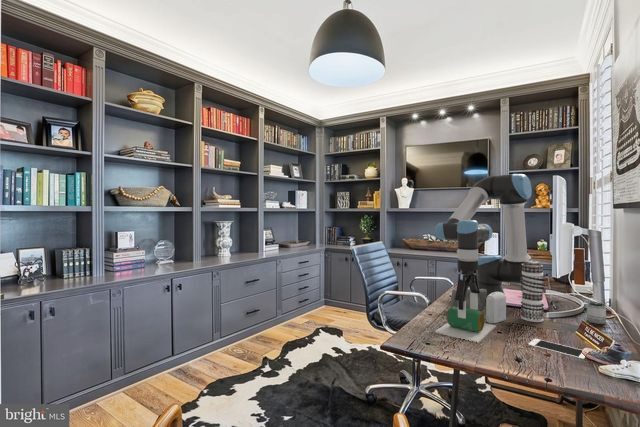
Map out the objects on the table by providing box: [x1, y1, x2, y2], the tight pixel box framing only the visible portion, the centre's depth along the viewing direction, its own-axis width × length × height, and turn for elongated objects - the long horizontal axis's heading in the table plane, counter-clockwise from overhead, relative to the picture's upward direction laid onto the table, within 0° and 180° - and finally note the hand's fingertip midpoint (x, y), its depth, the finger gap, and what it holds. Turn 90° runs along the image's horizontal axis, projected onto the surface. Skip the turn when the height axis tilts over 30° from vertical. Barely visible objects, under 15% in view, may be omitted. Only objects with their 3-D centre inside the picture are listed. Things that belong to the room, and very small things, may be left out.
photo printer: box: [485, 292, 507, 324], centre depth 148 cm, size 10×4×12 cm, turn 123°
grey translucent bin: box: [449, 288, 487, 313], centre depth 162 cm, size 16×9×11 cm, turn 79°
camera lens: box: [586, 301, 607, 325], centre depth 146 cm, size 6×6×8 cm
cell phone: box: [527, 338, 586, 360], centre depth 119 cm, size 8×16×1 cm, turn 42°
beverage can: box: [446, 306, 485, 332], centre depth 137 cm, size 8×8×12 cm
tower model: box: [519, 260, 546, 323], centre depth 150 cm, size 9×9×25 cm
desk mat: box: [434, 322, 496, 344], centre depth 138 cm, size 22×16×1 cm
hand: (468, 313), depth 136 cm, fingers open, 13 cm apart
